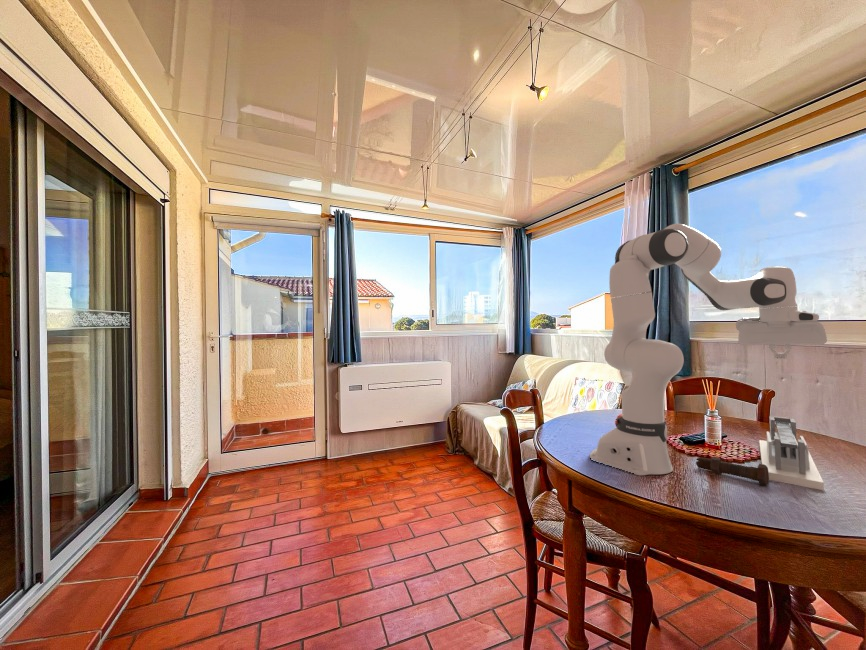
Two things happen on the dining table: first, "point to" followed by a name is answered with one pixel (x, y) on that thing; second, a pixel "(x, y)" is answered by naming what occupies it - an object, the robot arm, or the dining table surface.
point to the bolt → (735, 469)
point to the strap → (786, 435)
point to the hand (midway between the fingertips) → (780, 358)
